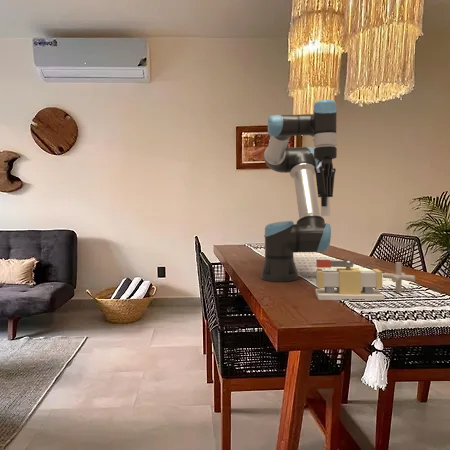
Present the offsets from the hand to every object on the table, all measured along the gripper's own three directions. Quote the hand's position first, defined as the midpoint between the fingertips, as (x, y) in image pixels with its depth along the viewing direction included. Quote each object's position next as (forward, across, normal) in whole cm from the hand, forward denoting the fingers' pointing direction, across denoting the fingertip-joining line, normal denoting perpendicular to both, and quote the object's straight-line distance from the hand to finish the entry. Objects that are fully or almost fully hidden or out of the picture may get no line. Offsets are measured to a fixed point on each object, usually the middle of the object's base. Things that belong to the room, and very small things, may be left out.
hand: (325, 216), depth 130 cm
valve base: (+26, +4, +9) cm, 28 cm away
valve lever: (+16, +6, +6) cm, 18 cm away
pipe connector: (+26, -12, +21) cm, 36 cm away
